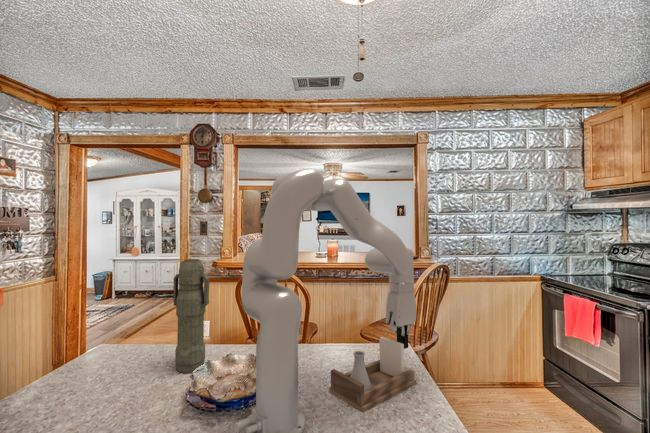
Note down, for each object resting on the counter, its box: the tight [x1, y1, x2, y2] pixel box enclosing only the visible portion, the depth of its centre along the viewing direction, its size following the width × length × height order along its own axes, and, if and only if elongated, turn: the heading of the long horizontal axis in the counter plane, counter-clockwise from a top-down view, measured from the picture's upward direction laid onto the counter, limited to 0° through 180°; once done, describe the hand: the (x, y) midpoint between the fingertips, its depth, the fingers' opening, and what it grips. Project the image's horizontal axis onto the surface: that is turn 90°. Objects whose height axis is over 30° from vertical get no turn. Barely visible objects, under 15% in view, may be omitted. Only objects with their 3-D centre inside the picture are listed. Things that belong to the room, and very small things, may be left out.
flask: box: [350, 350, 372, 391], centre depth 85 cm, size 7×7×10 cm
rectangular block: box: [378, 336, 405, 377], centre depth 93 cm, size 1×8×10 cm, turn 39°
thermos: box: [172, 258, 210, 375], centre depth 102 cm, size 9×12×35 cm
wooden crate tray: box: [328, 359, 417, 413], centre depth 88 cm, size 22×13×6 cm, turn 129°
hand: (402, 347), depth 97 cm, fingers closed
